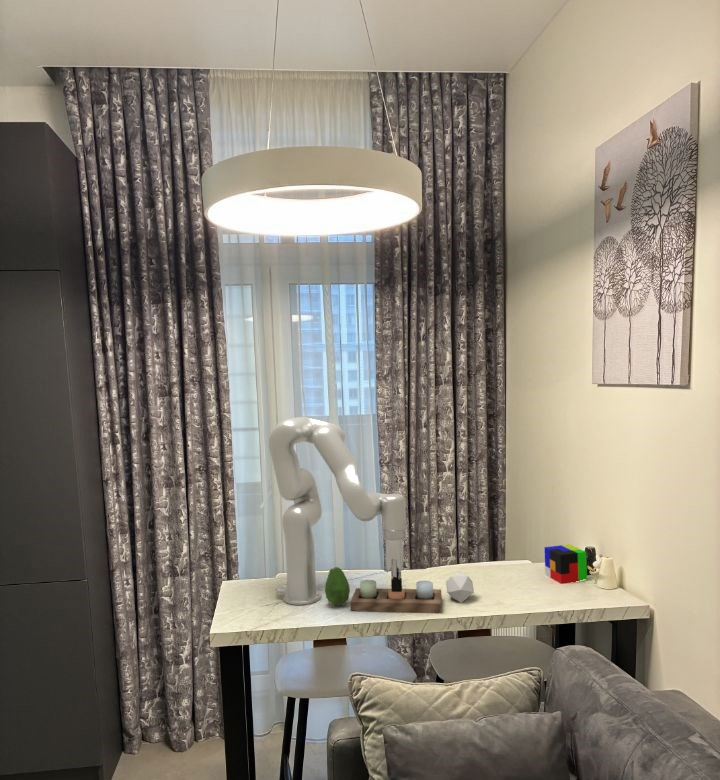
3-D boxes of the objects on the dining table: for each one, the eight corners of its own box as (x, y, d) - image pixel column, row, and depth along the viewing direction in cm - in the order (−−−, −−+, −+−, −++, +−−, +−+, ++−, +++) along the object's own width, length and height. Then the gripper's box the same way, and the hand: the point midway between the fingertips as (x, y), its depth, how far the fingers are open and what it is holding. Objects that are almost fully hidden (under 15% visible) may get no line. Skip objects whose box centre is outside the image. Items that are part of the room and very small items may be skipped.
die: (480, 603, 188) (477, 572, 194) (464, 596, 183) (462, 564, 189) (457, 608, 193) (455, 577, 199) (441, 601, 188) (440, 570, 194)
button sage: (359, 597, 187) (358, 585, 187) (361, 592, 192) (361, 579, 192) (375, 598, 186) (375, 585, 186) (377, 592, 192) (377, 580, 191)
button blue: (416, 598, 184) (415, 586, 184) (417, 592, 190) (416, 580, 190) (433, 599, 184) (432, 586, 184) (433, 593, 189) (433, 580, 189)
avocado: (334, 598, 195) (333, 562, 195) (354, 602, 191) (353, 565, 191) (320, 607, 189) (319, 569, 188) (340, 611, 184) (339, 573, 184)
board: (350, 611, 184) (350, 601, 184) (356, 597, 196) (356, 588, 196) (441, 613, 180) (440, 603, 180) (441, 598, 192) (441, 589, 192)
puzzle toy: (545, 575, 211) (544, 547, 211) (570, 571, 213) (569, 544, 213) (561, 584, 201) (560, 555, 201) (587, 580, 204) (586, 551, 203)
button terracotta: (387, 606, 186) (387, 593, 186) (389, 600, 191) (389, 587, 191) (404, 606, 185) (403, 593, 185) (405, 600, 190) (405, 588, 190)
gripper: (385, 527, 196) (387, 582, 196) (380, 539, 181) (382, 599, 181) (407, 527, 194) (410, 582, 195) (404, 539, 180) (407, 599, 180)
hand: (396, 590), depth 188 cm, fingers closed
